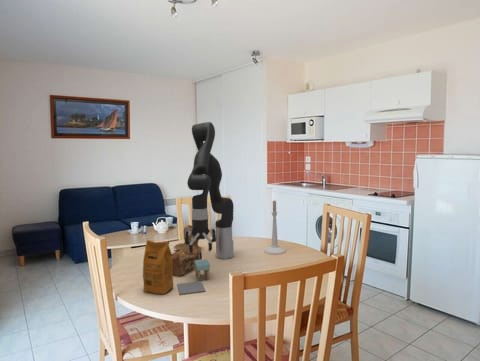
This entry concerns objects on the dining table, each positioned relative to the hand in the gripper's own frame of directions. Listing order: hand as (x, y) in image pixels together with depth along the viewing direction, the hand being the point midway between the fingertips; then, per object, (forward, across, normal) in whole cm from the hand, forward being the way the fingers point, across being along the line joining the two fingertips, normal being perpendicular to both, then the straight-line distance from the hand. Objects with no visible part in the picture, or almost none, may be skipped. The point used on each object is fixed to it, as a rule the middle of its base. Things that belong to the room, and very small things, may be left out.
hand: (200, 251), depth 168 cm
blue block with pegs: (+13, -1, 0) cm, 13 cm away
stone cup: (+12, 0, -45) cm, 47 cm away
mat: (+13, +6, +11) cm, 18 cm away
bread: (+13, +7, -14) cm, 20 cm away
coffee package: (+13, +20, +8) cm, 25 cm away
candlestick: (+12, -47, -28) cm, 56 cm away
